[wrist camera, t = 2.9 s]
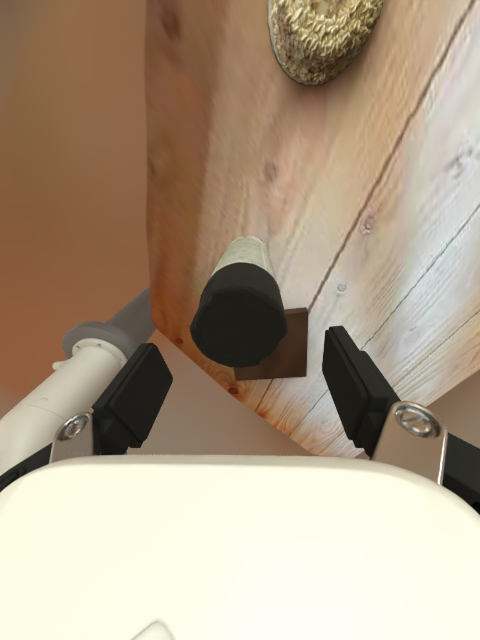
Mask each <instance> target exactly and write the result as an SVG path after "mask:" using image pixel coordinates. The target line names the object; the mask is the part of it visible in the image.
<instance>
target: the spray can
mask: <svg viewBox="0 0 480 640" xmlns="http://www.w3.org/2000/svg"><path fill="white" fill-rule="evenodd" d="M287 331H288V326H287V319H286V315H285V311H284V307H283V303H282V299H281V295H280V290H279V287H278V284H277V281H276V277H275V274H274V271H273V267H272V264H271V260H270V257H269V253H268V250H267V248H266V246H265V245H264V243H263V242H262V241H261V240H259V239H258V238H256V237H254V236H247V235H246V236H241V237H238V238H236V239H234V240H233V241H232V242H231V243H230V244H229V246H228V247H227V249H226V251H225V252H224V254H223V256H222V258H221V259H220V261H219V263H218V265H217V266H216V268H215V270H214V272H213V273H212V275H211V277H210V279H209V281H208V283H207V285H206V287H205V288H204V290H203V292H202V295H201V298H200V304H199V308H198V310H197V313H196V315H195V316H194V319H193V321H192V324H191V325H190V332H191V336H192V339H193V341H194V342H195V344H196V346H197V347H198V348H199V350H200V351H201V352H202V353H203V354H204V355H205V356H206V357H208V358H209V359H211V360H213V361H215V362H217V363H219V364H222V365H225V366H228V367H236V368H244V367H250V366H256V365H259V364H260V363H261V360H263V359H264V358H266V357H268V356H270V355H271V354H272V353H273V352H274V350H275V349H276V348H277V346H278V344H279V342H280V341H281V339H282V338H284V337H285V336H286V334H287Z"/></svg>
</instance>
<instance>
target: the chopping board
mask: <svg viewBox="0 0 480 640" xmlns="http://www.w3.org/2000/svg"><path fill="white" fill-rule="evenodd" d="M284 311H285V315H286V319H287V326H288V331H287V334H286V336H285V337H284V338H282V339H281V341H280V342H279V344H278V346H277V348H276V349H275V350H274V352H273V353H272V354H271V355H270V356H268V357H266V358H264V359H263V360H261V363H260V364H259V365H256V366H250V367H244V368H236V367H234V371H235V375H236V379H237V381H241V380H257V379H273V378H289V377H305V376H306V372H307V335H308V310H307V308H306V307H305V308H296V309H287V310H284Z"/></svg>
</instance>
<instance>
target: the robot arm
mask: <svg viewBox="0 0 480 640" xmlns="http://www.w3.org/2000/svg"><path fill="white" fill-rule="evenodd" d="M72 354H73V357H71V358H70V359H69V360H66V361H60V362H55V363H54V364H53V369H54V370H56V371H55V372H54V373H53V374H52V375H51V376H50V377H48V378H47V379H46V380H45V381H44V382H43V383H41V384H40V385H39V386H38V387H37V388H36V389H35V390H33V391H32V392H31V393H30V394H29V395H28V396H27V397H25V398H24V399H23V400H22V401H21V402H20V403H18V404H17V405H16V406H15V407H14V408H13V409H12V410H11V411H9V412H8V413H7V414H6V415H5V416H4V417H3V418H2V419H1V421H0V640H480V449H479V448H477V447H475V446H473V445H471V444H469V443H467V442H465V441H463V440H462V439H459V438H458V437H456V436H454V435H452V434H450V433H448V432H447V428H446V426H445V424H444V422H443V421H442V420H441V419H440V418H439V417H438V416H437V415H436V414H435V413H434V412H432V411H431V410H430V409H428V408H426V407H424V406H422V405H420V404H417V403H414V402H409V401H401V400H400V399H399V397H398V396H397V394H396V393H395V392H394V390H393V389H392V387H391V386H390V385H389V383H388V382H387V380H386V379H385V378H384V376H383V375H382V373H381V372H380V371H379V369H378V368H377V366H376V365H375V364H374V362H373V361H372V359H371V358H370V357H369V355H368V354H367V353H366V352H365V351H360V350H359V349H358V348H357V346H356V345H355V343H354V342H353V340H352V339H351V337H350V336H349V334H348V333H347V331H346V330H345V328H344V327H343V326H333V327H330V328H329V330H326V331H325V341H324V352H323V363H322V371H323V375H324V377H325V380H326V383H327V385H328V388H329V391H330V393H331V396H332V398H333V401H334V404H335V406H336V409H337V412H338V414H339V417H340V419H341V422H342V425H343V427H344V430H345V433H346V435H347V437H348V439H349V440H353V442H354V445H355V447H356V448H364V450H365V452H366V454H367V455H368V456H369V457H370V458H369V460H365V459H357V458H344V457H319V456H262V455H261V456H260V455H253V456H251V455H127V449H128V447H130V448H140V447H141V445H142V443H143V441H145V440H146V439H147V437H148V435H149V432H150V430H151V428H152V426H153V423H154V421H155V419H156V417H157V415H158V413H159V410H160V408H161V406H162V404H163V401H164V399H165V397H166V395H167V393H168V390H169V388H170V386H171V384H172V381H173V377H172V375H171V373H170V371H169V369H168V367H167V365H166V363H165V361H164V359H163V357H162V355H161V353H160V351H159V350H158V348H157V346H156V345H154V344H153V343H143V344H141V345H140V346H139V347H138V348H137V350H136V351H135V352H134V353H133V355H132V356H131V357H130V359H129V360H128V359H127V358H126V356H125V355H124V353H123V352H122V351H121V350H120V349H119V348H117V347H116V346H114V345H113V344H111V343H109V342H106V341H104V340H100V339H95V338H86V339H82V340H80V341H79V342H77V343H76V344H75V345H74V346H73V349H72ZM110 382H111V383H110ZM107 386H108V387H107ZM103 391H104V392H103ZM100 395H101V396H100ZM96 400H97V401H96ZM92 405H93V406H92ZM91 407H92V408H93V409H94V412H93V413H92V414H91V413H90V412H88V410H89V409H90V408H91Z"/></svg>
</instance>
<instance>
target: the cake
mask: <svg viewBox="0 0 480 640" xmlns="http://www.w3.org/2000/svg"><path fill="white" fill-rule="evenodd" d="M383 2H384V0H269V2H268V13H269V17H268V22H269V23H268V26H269V27H270V28H269V29H270V36H271V37H270V40H271V41H272V46H273V50H275V54H276V56H277V58H278V62H279V63H280V64H281V66H282V67H283V70H284V72H285V73H286V74H287V73H288V75H289V76H290V78H292V79H294V80H296V81H297V82H298V83H302V84H304V85H305V86H307V85H313V86H315V85H317V84H320V83H321V84H324V83H325V82H327V81H329V80H332V79H333V78H334V77H335V76H337V75H338V74H341V73H342V71H344V69H345V68H347V67H348V66H349V65H350V64H351V63H352V61H353V60H354V58H355V57H356V56H357V55H358V54H359V52H360V50H361V48H362V47H363V45H364V44H365V43H366V41H367V40H368V37H369V35H370V33H371V30H372V28H373V27H374V25H375V23H376V20H377V19H378V18H379V17H380V9H381V8H382V6H383Z"/></svg>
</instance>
